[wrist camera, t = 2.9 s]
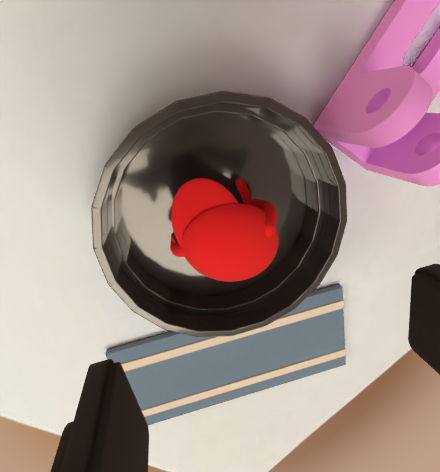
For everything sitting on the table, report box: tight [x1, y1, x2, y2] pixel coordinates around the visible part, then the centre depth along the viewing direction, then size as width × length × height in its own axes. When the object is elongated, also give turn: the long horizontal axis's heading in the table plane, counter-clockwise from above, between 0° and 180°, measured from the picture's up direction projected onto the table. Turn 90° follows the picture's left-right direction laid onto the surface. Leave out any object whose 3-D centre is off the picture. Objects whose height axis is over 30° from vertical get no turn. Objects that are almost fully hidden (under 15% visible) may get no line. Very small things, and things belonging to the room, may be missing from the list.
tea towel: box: [106, 284, 346, 425], centre depth 27 cm, size 20×9×1 cm, turn 101°
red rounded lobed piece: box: [170, 178, 279, 282], centre depth 19 cm, size 8×6×6 cm
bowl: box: [91, 91, 347, 337], centre depth 20 cm, size 15×15×4 cm
